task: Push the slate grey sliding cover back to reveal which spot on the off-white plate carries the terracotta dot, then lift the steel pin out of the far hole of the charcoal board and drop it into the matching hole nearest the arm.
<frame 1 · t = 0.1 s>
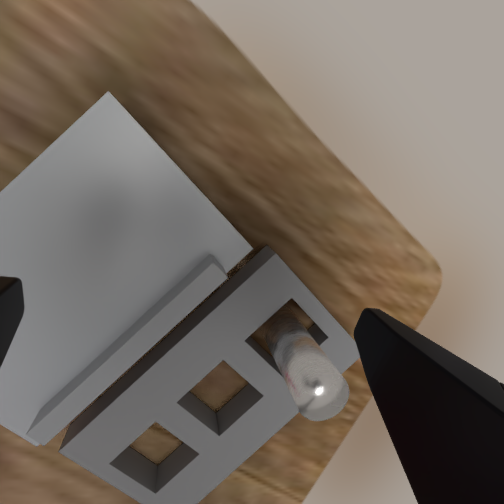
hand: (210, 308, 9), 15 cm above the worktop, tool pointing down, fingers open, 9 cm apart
pin: (278, 323, 27), resting in hole board
hole board: (217, 378, 27), on the worktop
cover: (71, 283, 20), point 3 cm above the worktop, slide at 0.0 cm
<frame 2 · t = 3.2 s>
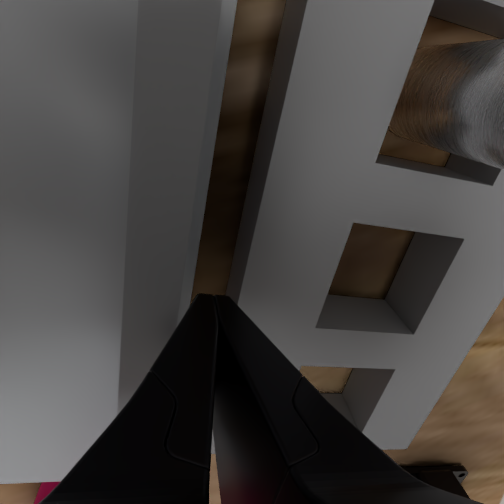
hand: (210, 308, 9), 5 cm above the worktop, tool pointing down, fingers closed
pin: (420, 95, 12), resting in hole board
hole board: (358, 253, 15), on the worktop
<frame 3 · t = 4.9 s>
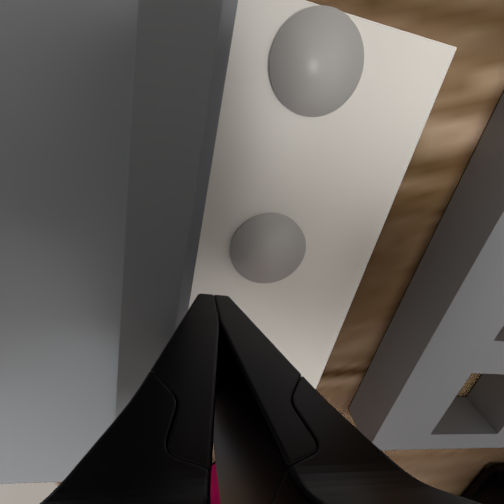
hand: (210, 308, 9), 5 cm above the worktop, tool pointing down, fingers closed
layout plate: (264, 241, 14), on the worktop
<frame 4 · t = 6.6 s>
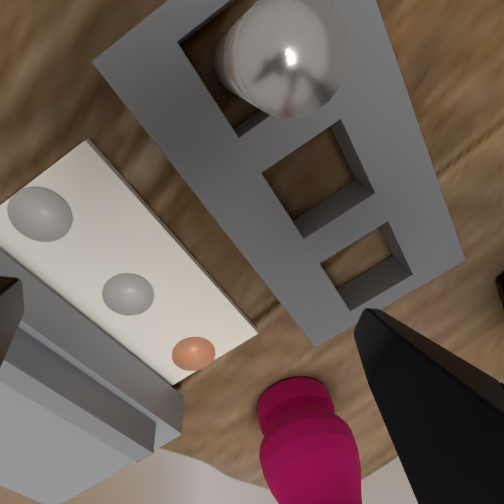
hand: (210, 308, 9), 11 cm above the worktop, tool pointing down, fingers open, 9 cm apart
pin: (245, 62, 17), resting in hole board
pepper mill: (292, 400, 29), on the worktop
hole board: (306, 170, 20), on the worktop
cover: (3, 400, 20), point 3 cm above the worktop, slide at 8.7 cm
layout plate: (130, 288, 22), on the worktop
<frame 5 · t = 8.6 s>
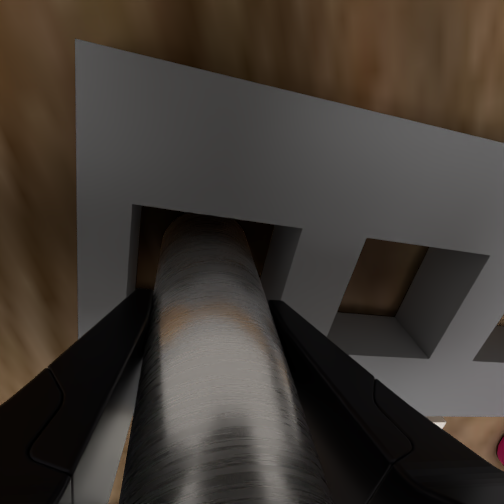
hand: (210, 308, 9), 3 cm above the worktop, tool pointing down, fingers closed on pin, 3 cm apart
pin: (205, 248, 12), resting in hole board, touching gripper
hole board: (368, 268, 14), on the worktop
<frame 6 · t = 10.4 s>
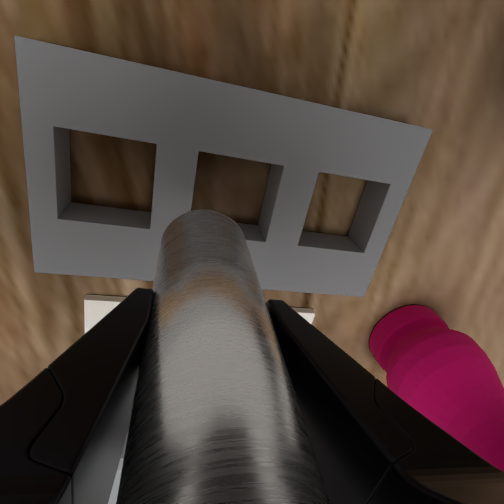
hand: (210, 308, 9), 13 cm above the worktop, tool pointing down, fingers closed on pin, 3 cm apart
pin: (203, 249, 12), point 9 cm above the worktop, touching gripper
pepper mill: (401, 331, 29), on the worktop
hole board: (229, 186, 21), on the worktop
cover: (187, 465, 27), point 3 cm above the worktop, slide at 8.7 cm
layout plate: (200, 350, 26), on the worktop
when the fingers open (5 cm above the worktop, at t = 12.6 s): pin drops 2 cm, resting in hole board.
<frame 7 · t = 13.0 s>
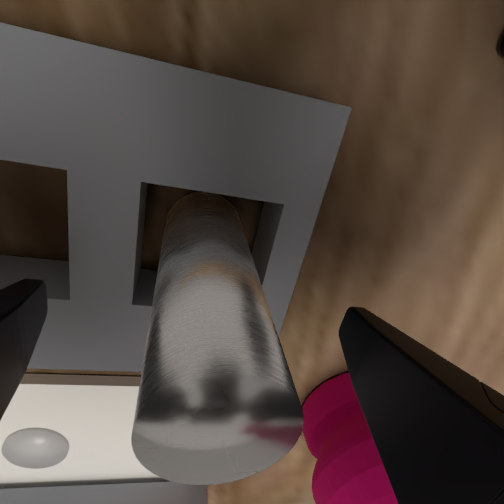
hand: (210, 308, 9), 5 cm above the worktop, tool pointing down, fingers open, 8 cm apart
pin: (203, 227, 14), resting in hole board
pepper mill: (347, 403, 21), on the worktop
hole board: (21, 202, 12), on the worktop
layout plate: (41, 435, 18), on the worktop
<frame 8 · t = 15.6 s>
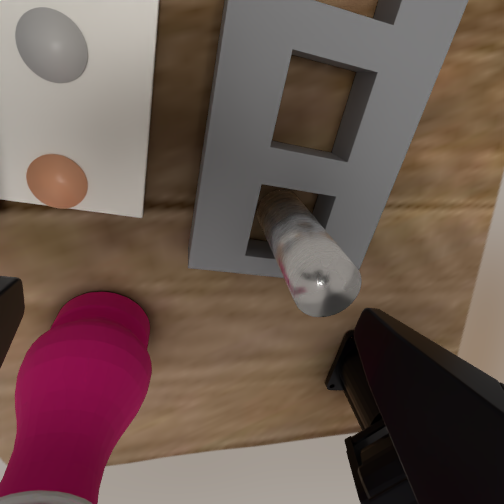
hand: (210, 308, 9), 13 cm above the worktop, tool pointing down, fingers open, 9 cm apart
pin: (279, 211, 22), resting in hole board
pepper mill: (105, 324, 25), on the worktop
hole board: (307, 105, 20), on the worktop
layout plate: (57, 47, 16), on the worktop
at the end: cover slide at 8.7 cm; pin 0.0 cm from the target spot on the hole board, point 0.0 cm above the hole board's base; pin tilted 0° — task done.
